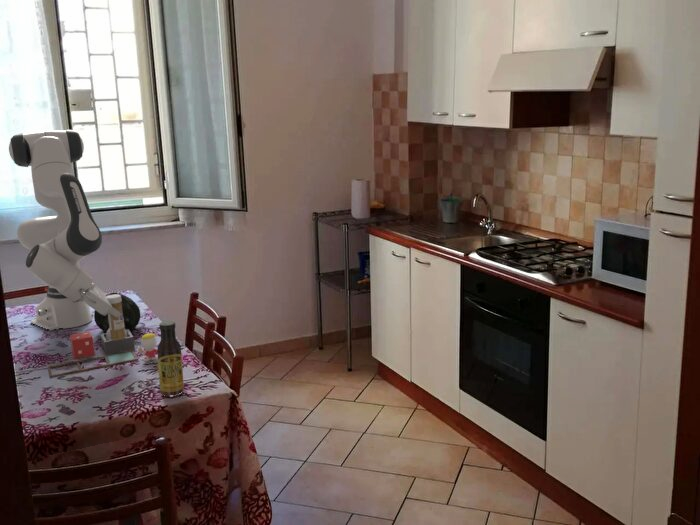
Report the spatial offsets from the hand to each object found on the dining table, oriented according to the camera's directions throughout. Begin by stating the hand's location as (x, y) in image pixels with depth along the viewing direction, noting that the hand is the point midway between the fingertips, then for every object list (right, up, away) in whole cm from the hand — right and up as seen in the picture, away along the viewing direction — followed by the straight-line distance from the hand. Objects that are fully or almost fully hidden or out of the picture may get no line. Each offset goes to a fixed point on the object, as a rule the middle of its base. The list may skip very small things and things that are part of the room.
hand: (117, 312), depth 212 cm
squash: (-9, -9, +30) cm, 32 cm away
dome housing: (-4, -12, +13) cm, 18 cm away
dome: (-4, -11, +13) cm, 18 cm away
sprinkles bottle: (0, -8, +2) cm, 8 cm away
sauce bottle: (+23, -20, -24) cm, 39 cm away
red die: (-13, -14, +9) cm, 21 cm away
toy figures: (+12, -14, +2) cm, 19 cm away
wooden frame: (-7, -16, 0) cm, 17 cm away
